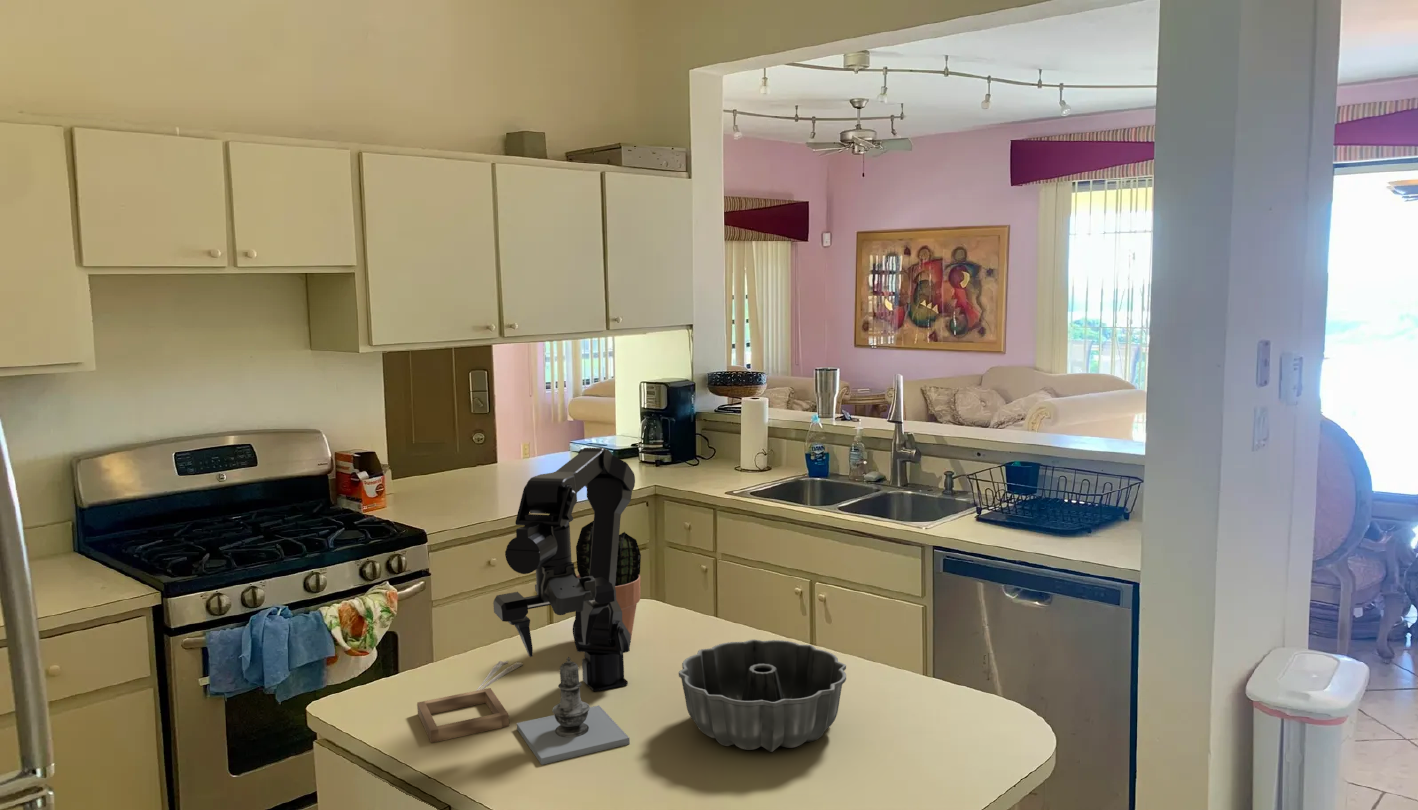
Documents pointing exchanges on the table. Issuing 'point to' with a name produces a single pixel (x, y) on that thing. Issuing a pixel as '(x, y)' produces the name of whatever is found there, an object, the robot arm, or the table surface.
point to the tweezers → (499, 673)
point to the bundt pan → (763, 692)
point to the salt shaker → (570, 703)
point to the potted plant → (625, 572)
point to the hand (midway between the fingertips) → (558, 650)
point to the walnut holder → (467, 726)
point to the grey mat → (559, 748)
